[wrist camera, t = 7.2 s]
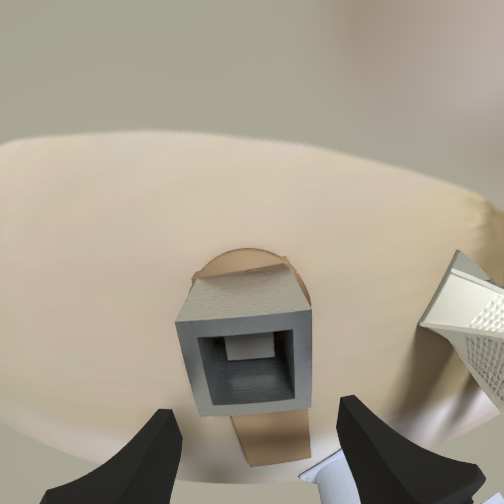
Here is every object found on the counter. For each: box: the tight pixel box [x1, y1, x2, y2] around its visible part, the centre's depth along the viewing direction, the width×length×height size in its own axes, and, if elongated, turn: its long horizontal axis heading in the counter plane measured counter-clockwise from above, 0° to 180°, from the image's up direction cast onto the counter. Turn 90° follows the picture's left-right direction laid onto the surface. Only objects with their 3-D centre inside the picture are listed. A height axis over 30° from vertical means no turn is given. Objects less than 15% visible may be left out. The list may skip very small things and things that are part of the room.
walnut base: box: [188, 248, 311, 467], centre depth 18 cm, size 21×8×4 cm, turn 10°
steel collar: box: [175, 269, 312, 416], centre depth 15 cm, size 6×6×6 cm
